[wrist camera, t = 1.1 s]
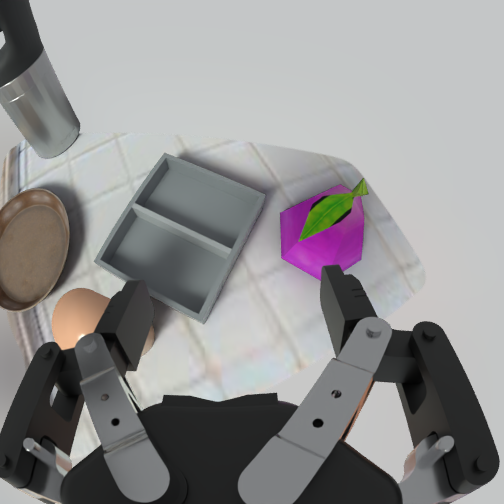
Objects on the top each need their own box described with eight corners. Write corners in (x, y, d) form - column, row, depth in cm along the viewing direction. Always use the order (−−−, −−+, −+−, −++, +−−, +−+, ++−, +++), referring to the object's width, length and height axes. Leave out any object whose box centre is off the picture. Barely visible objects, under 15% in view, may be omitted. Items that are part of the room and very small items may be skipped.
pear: (284, 192, 38) (313, 112, 24) (360, 215, 38) (417, 152, 24) (264, 272, 34) (290, 219, 20) (349, 295, 34) (421, 259, 20)
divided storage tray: (104, 269, 33) (93, 261, 29) (168, 167, 38) (164, 152, 34) (203, 324, 32) (201, 322, 29) (262, 208, 37) (266, 194, 34)
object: (64, 328, 30) (51, 325, 27) (-17, 301, 29) (-29, 297, 26) (93, 200, 36) (85, 189, 33) (12, 196, 35) (2, 187, 32)
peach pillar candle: (103, 342, 30) (42, 336, 18) (123, 301, 32) (70, 275, 19) (142, 366, 30) (94, 376, 17) (162, 324, 31) (125, 311, 19)
